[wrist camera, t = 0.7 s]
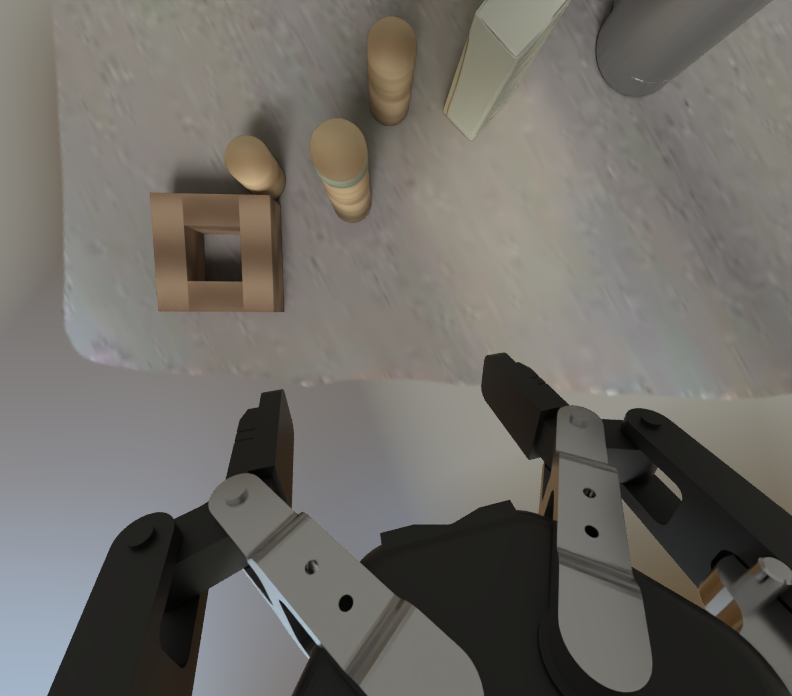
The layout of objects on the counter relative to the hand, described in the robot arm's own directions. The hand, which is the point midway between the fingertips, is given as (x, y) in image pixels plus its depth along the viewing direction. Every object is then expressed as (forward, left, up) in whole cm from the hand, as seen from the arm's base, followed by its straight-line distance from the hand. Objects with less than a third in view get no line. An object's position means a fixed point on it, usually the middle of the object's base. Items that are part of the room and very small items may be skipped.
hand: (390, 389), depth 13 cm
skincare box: (-24, +10, -24) cm, 36 cm away
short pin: (-16, -12, -24) cm, 32 cm away
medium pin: (-24, +1, -24) cm, 34 cm away
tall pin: (-14, -3, -24) cm, 28 cm away
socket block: (-8, -16, -24) cm, 30 cm away
